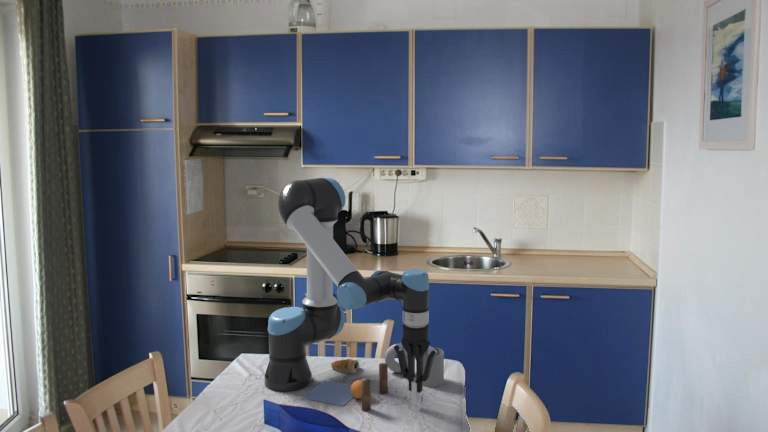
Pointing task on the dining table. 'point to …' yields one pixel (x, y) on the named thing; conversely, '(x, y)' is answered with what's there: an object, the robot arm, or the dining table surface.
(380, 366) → the post
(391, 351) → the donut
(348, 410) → the dining table surface
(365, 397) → the post
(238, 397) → the dining table surface
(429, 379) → the cup
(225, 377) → the dining table surface
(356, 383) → the ball
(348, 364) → the pastry
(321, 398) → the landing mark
